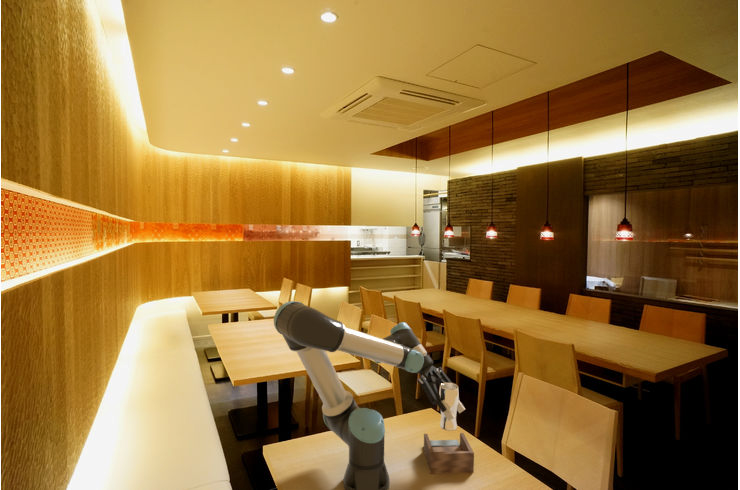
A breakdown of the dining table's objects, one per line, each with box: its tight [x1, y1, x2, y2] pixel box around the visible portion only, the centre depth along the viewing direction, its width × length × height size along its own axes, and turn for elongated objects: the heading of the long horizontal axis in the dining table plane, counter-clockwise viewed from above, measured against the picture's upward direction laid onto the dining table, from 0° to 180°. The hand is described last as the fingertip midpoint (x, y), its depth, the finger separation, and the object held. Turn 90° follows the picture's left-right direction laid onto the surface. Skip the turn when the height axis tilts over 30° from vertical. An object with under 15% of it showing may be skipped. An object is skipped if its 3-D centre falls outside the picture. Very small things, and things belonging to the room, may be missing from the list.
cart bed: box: [423, 432, 475, 475], centre depth 146 cm, size 15×17×7 cm
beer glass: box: [438, 382, 460, 432], centre depth 143 cm, size 7×7×15 cm
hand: (457, 414), depth 141 cm, fingers closed on beer glass, 7 cm apart
